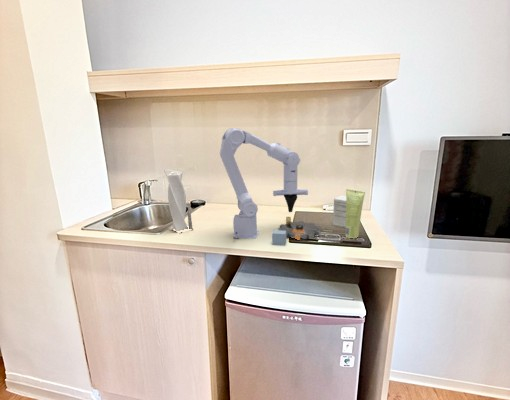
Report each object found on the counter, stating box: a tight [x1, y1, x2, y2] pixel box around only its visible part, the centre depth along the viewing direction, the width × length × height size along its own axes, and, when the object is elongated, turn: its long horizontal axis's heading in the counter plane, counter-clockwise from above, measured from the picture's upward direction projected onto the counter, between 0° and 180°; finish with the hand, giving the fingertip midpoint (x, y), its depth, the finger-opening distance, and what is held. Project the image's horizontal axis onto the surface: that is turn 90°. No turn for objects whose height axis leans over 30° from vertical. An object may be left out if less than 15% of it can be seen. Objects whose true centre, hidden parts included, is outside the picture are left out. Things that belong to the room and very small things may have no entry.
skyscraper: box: [164, 169, 194, 231], centre depth 122 cm, size 8×8×28 cm
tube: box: [344, 188, 366, 239], centre depth 109 cm, size 6×5×20 cm
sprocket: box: [277, 216, 322, 241], centre depth 117 cm, size 18×18×6 cm
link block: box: [271, 229, 287, 246], centre depth 107 cm, size 5×4×5 cm
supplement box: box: [332, 195, 346, 228], centre depth 124 cm, size 7×7×13 cm
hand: (290, 211), depth 120 cm, fingers closed
